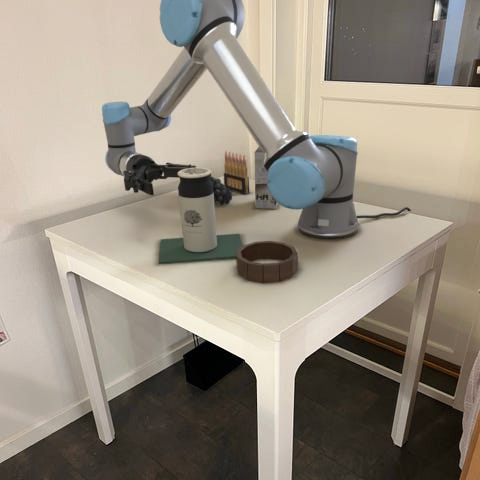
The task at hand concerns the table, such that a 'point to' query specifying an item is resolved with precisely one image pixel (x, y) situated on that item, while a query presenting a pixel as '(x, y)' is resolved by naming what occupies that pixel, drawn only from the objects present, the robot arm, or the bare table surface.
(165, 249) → the mat
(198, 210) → the travel mug
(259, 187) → the coffee box
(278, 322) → the table surface
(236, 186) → the ammunition clip
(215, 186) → the fruit
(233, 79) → the robot arm
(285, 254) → the holder
